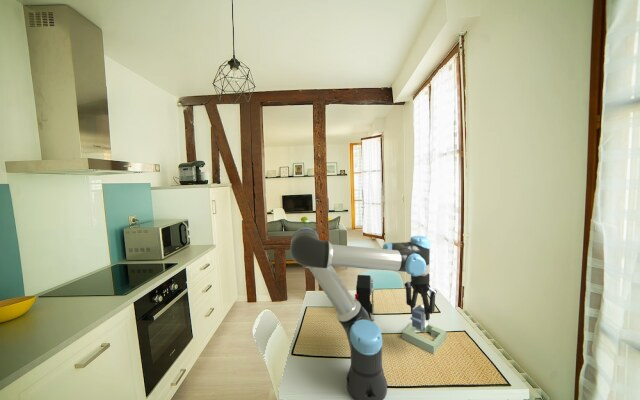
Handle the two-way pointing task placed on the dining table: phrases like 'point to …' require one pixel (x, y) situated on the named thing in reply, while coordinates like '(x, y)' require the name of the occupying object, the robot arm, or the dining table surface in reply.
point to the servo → (418, 317)
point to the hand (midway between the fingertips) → (420, 323)
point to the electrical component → (365, 293)
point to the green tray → (424, 342)
